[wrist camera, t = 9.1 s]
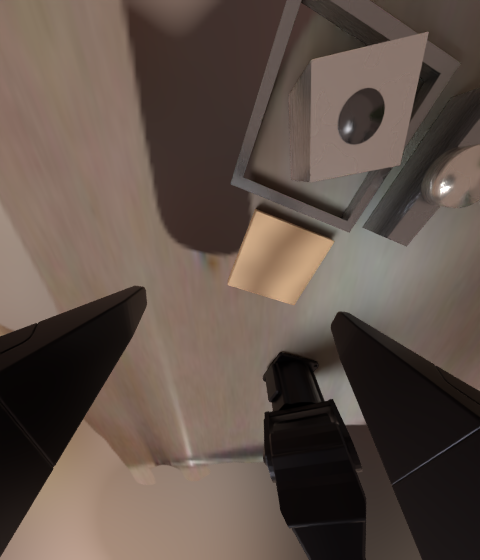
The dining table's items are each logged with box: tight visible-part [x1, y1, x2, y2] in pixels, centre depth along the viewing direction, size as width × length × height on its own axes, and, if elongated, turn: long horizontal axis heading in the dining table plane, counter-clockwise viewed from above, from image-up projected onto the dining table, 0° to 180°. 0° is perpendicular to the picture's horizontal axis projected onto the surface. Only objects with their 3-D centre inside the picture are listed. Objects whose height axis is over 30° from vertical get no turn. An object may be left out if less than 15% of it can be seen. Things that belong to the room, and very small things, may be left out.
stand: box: [228, 209, 334, 305], centre depth 19 cm, size 8×8×1 cm
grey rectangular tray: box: [231, 0, 480, 246], centre depth 13 cm, size 16×12×5 cm
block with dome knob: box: [288, 32, 429, 182], centre depth 13 cm, size 6×6×5 cm
